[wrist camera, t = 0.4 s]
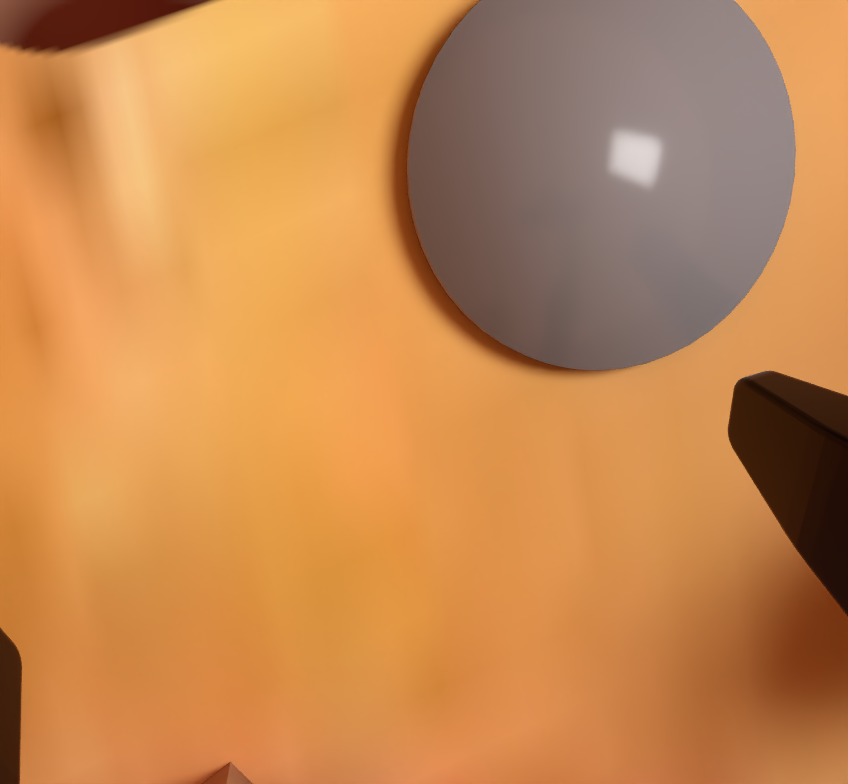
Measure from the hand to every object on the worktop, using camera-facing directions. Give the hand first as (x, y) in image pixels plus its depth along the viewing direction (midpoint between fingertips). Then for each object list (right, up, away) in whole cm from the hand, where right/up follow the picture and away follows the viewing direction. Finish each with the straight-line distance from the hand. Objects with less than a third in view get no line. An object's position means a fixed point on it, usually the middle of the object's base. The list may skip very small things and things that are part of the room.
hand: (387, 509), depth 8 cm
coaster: (+6, +8, +13) cm, 17 cm away
